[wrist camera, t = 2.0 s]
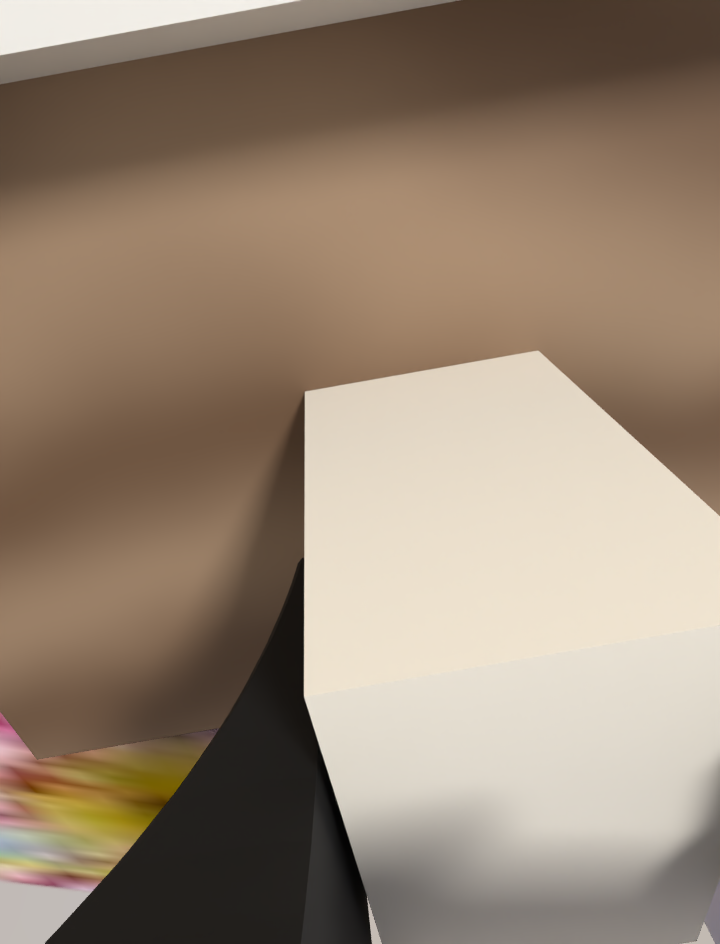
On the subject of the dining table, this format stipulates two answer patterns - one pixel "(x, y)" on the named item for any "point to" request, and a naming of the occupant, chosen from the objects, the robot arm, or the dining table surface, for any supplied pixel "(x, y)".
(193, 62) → the brown tray
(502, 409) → the carton
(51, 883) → the dining table surface
